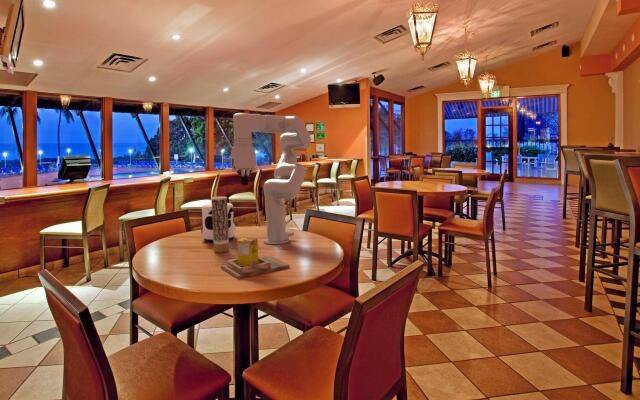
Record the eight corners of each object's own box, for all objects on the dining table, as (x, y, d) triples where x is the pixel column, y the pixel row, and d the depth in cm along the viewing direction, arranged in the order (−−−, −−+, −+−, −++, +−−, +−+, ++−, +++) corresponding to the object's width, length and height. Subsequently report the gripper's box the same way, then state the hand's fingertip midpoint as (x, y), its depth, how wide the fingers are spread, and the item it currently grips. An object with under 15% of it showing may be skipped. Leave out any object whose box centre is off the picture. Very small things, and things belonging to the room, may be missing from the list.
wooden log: (225, 253, 178) (222, 198, 175) (211, 252, 180) (208, 198, 176) (231, 249, 185) (229, 196, 182) (218, 248, 186) (215, 196, 183)
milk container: (215, 234, 217) (213, 201, 214) (242, 236, 210) (241, 203, 208) (194, 241, 201) (192, 206, 198) (223, 244, 194) (221, 208, 192)
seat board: (269, 258, 170) (269, 251, 170) (289, 267, 157) (289, 259, 157) (221, 268, 157) (220, 260, 157) (238, 279, 145) (237, 270, 144)
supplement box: (258, 264, 158) (257, 237, 156) (251, 269, 152) (250, 241, 150) (245, 263, 159) (244, 236, 158) (237, 267, 154) (236, 240, 152)
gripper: (254, 142, 177) (256, 183, 180) (223, 142, 169) (224, 185, 171) (262, 142, 171) (263, 184, 174) (230, 142, 163) (232, 187, 165)
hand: (244, 185), depth 173 cm, fingers closed
